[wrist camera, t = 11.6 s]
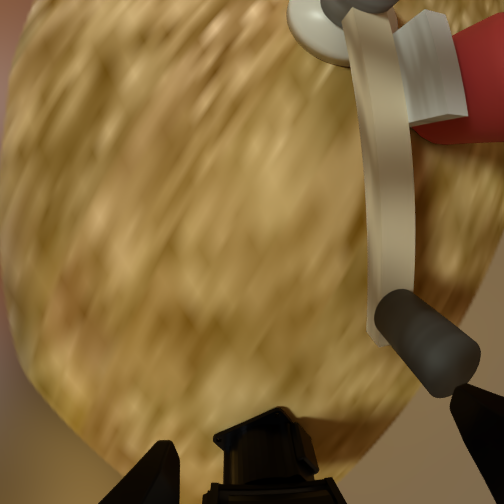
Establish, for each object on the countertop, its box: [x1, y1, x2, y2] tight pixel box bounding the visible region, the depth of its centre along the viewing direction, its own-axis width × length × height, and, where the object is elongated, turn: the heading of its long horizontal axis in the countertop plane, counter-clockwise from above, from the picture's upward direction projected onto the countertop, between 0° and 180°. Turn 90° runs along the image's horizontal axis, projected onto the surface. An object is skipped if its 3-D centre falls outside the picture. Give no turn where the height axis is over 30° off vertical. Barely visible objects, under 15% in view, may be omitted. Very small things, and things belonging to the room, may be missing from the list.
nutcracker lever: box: [320, 0, 481, 398], centre depth 12 cm, size 22×4×9 cm, turn 6°
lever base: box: [287, 0, 398, 67], centre depth 16 cm, size 7×7×2 cm
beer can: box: [412, 12, 504, 145], centre depth 12 cm, size 7×7×12 cm
